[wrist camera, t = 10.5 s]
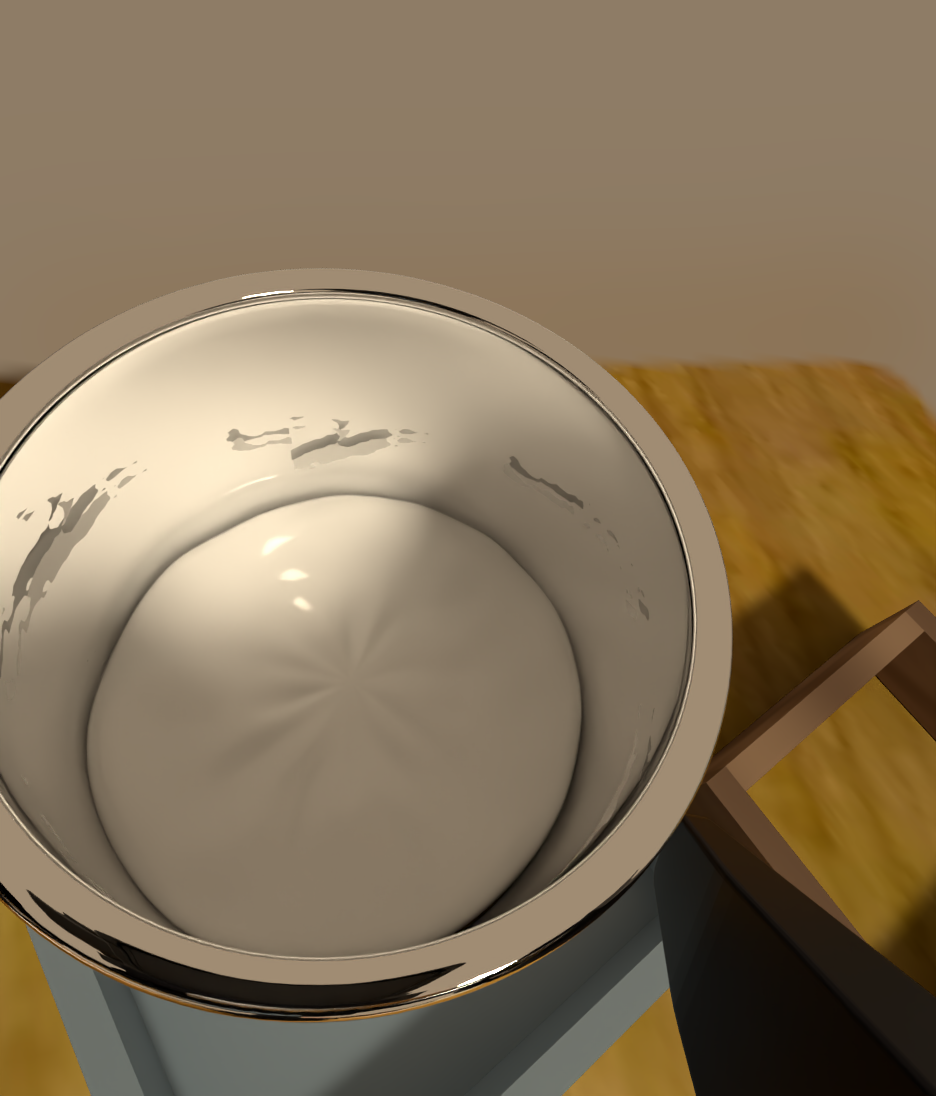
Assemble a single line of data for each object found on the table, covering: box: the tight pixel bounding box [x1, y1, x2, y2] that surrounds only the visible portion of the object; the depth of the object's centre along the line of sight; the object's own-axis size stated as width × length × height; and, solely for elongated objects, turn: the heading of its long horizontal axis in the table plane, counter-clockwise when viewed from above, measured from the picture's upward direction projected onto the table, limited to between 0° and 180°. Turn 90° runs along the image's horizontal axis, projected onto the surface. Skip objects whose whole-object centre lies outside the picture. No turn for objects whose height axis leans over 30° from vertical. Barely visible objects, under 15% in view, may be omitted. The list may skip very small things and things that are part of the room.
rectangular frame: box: [686, 600, 936, 941], centre depth 20 cm, size 11×11×3 cm
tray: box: [26, 856, 670, 1096], centre depth 18 cm, size 14×16×3 cm
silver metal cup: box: [0, 268, 733, 1023], centre depth 12 cm, size 7×7×15 cm
